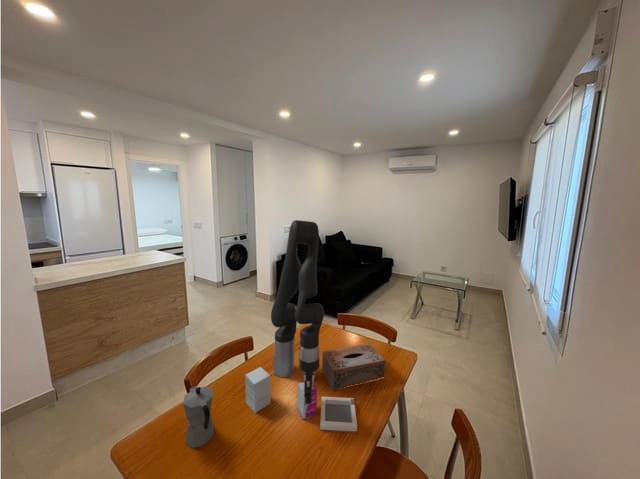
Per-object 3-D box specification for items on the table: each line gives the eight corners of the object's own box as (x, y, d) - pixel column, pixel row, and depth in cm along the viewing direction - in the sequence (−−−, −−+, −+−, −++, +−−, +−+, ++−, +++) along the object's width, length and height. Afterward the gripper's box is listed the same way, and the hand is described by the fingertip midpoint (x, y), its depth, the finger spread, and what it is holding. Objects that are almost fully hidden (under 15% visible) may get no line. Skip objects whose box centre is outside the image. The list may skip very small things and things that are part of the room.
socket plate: (320, 430, 90) (320, 423, 89) (321, 401, 102) (321, 395, 102) (356, 432, 89) (357, 425, 89) (353, 403, 102) (353, 397, 101)
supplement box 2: (303, 420, 93) (303, 393, 92) (297, 409, 98) (297, 382, 97) (317, 415, 96) (317, 388, 94) (310, 404, 101) (311, 378, 99)
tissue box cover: (332, 391, 109) (333, 370, 107) (321, 370, 122) (322, 351, 121) (384, 379, 117) (385, 360, 115) (368, 361, 130) (369, 343, 129)
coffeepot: (179, 430, 88) (177, 384, 85) (207, 415, 94) (205, 372, 92) (193, 464, 77) (191, 412, 74) (224, 444, 83) (222, 396, 81)
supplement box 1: (261, 393, 106) (261, 366, 104) (271, 403, 101) (271, 375, 99) (245, 402, 101) (244, 374, 99) (254, 414, 96) (254, 384, 94)
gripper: (301, 344, 101) (301, 381, 103) (297, 367, 87) (297, 409, 89) (319, 345, 101) (319, 382, 103) (318, 367, 87) (318, 409, 89)
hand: (309, 394), depth 96 cm, fingers open, 8 cm apart
